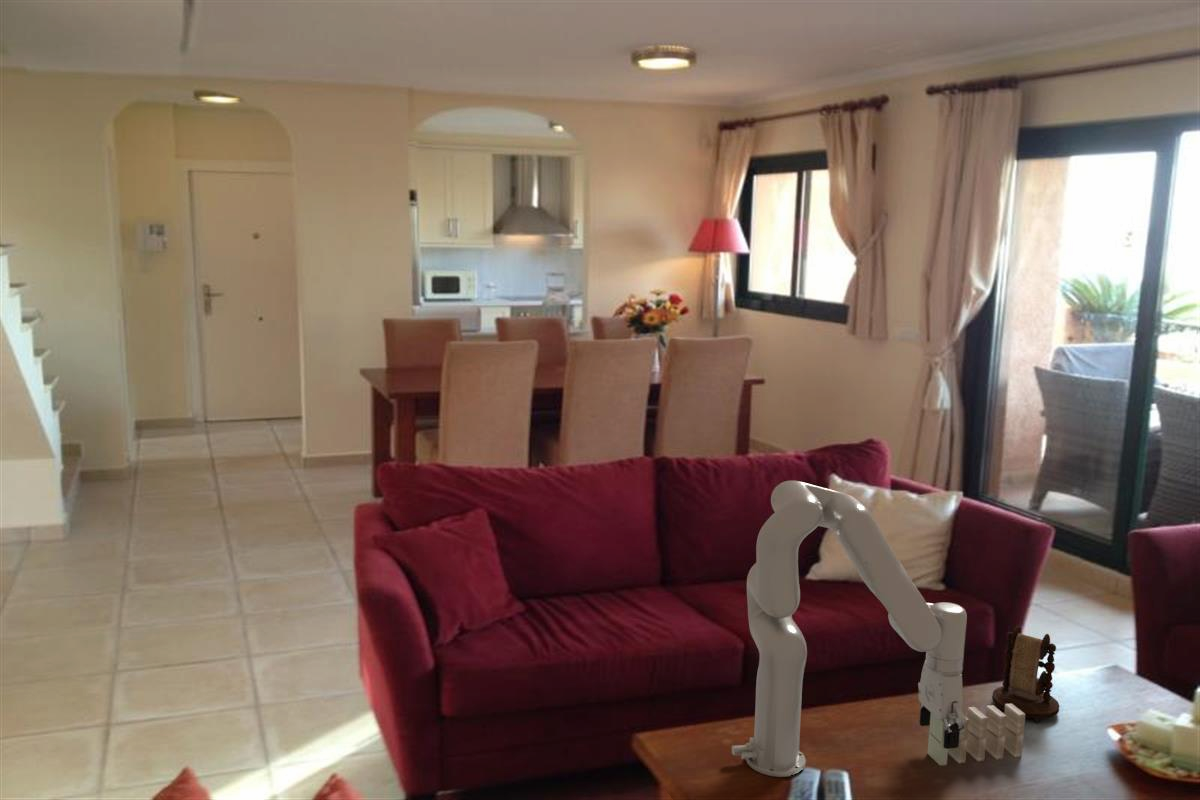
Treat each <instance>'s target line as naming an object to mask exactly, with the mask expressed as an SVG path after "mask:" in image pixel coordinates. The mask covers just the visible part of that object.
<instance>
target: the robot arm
mask: <svg viewBox="0 0 1200 800" xmlns="http://www.w3.org/2000/svg"><path fill="white" fill-rule="evenodd" d="M770 504H771V508H772V510H773V511H774V513H773V514H771V515H770V517H769V518H768V519H767V520H766V521H765V522H764V524H763V525H762V527H761V528H760V530H759V533H758V536H757V540H756V545H755V547H756V548H755V550H756V551H755V552H756V553H755V554H756V555H755V556H756V562H755V563H754V564H753V565H752V566H751V568H750V570H749V571H748V574H747V577H746V598H747V600H746V601H747V615H748V625H749V631H750V635H751V637H752V640H753V641H754V643H755V645H756V647H757V649H758V653H759V662H758V668H757V672H756V673H757V675H756V682H755V683H756V685H755V708H754V710H755V711H754V730H753V731H754V732H753V737H749V742H746V743H745V744H742V745H741V744H738V745H731V753H732V755H733V756H738V755H740V757H741V760H745V762H746V764H747V765H748V766H749V767H750V768H752V770H754V771H755V772H758V773H760V774H762V775H766V776H770V777H776V778H786V777H787V778H788V777H792V776H791V775H792V773H793V771H794V770H795V769H797V768H804V767H805V768H806V763H807V759H806V757H805V755H804V754H803V752H801V751H800V736H801V734H800V733H801V719H802V718H801V717H802V716H801V714H802V698H803V697H802V694H803V693H802V692H803V681H804V680H803V679H804V673H805V667H806V663H807V657H808V649H807V648H808V647H807V642H806V640H805V637H804V635H803V632H802V631H801V629H800V627H798V625H797V624H796V622H795V621H794V619H793V616H792V615H794V614H795V612H797V609H798V607H799V604H800V601H801V589H800V575H799V548H800V545H801V544H802V542H803V540H804V539H806V537H807V536H808V535H809V534H811V533H812V532H813V531H814V530H816V529H817V528H818V527H821V528H822V527H823V528H826V529H829V530H830V531H831V532H832V533H833V534H834V535H835V538H836V539H837V540H838V542H839V543H840V545H841V547H842V548H843V549H844V551H845V553H846V555H847V556H848V558H849V560H850V561H851V563H852V564H853V567H854V569H856V571H857V573H858V575H859V577H860V578H861V580H862V581H863V582H864V584H865V586H867V588H868V589H869V590H870V592H871V593H873V595H874V596H875V597H876V598H877V599H878V600H879V602H881V604H882V605H883V607H884V608H885V609H886V611H887V612H888V615H887V616H888V622H889V625H891V627H892V629H893V630H894V631H895V632H896V633H897V634H898V636H900V637H901V638H902V639H903V641H904V642H905V643H906V644H907V646H909V647H910V649H913V650H915V651H917V652H919V653H920V652H921V653H923V652H925V660H924V663H923V666H922V670H921V675H920V681H919V682H918V683H917V686H918V701H919V707H920V712H919V725H920V726H921V727H928V726H929V727H930V716H931V713H932V714H933V715H934V716H936V717H937V718H938V719H940V720H944V721H945V725H946V728H947V730H945V732H944V745H943V747H944V748H945V749H950V748H957V747H958V746H959V734H960V731H961V730H962V729H963V728H964V724H965V723H966V718H965V713H963V712H964V711H962V710H963V690H964V689H963V674H962V673H963V669H964V659H965V658H964V656H965V644H966V632H967V622H968V621H967V619H968V617H967V616H968V615H967V612H966V611H967V610H966V609H965V608H964V607H962V605H961V606H960V605H959V604H957V603H953V602H944V601H942V602H936V603H933V602H932V603H931V602H927V601H926V600H925V597H924V596H923V595H922V594H921V592H920V591H919V590H918V588H917V586H916V585H915V583H914V582H913V580H912V578H911V577H910V575H909V574H908V572H907V570H906V569H905V567H904V566H903V564H902V562H901V561H900V559H899V557H898V556H897V555H896V552H895V551H894V550H893V548H892V546H891V545H890V543H889V541H888V540H887V538H886V536H885V535H884V533H883V531H882V529H881V528H880V526H879V525H878V523H877V521H876V520H875V518H874V516H873V515H872V513H871V512H870V510H869V509H868V508H867V507H866V506H865V505H864V504H862V503H861V502H860V501H858V499H856V498H855V497H854V496H852V495H850V494H847V493H845V492H841V491H838V490H834V489H829V488H826V487H822V486H818V485H814V484H811V483H807V482H803V481H799V480H786V481H785V480H784V481H783V482H780V483H779V484H778V485H776V486H775V487H774V489H773V490H772V493H771V496H770ZM949 714H952V715H953V716H949ZM953 719H954V722H955V723H954V724H952V725H951V724H950V721H949V720H953ZM805 768H804V769H805Z"/></svg>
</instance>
